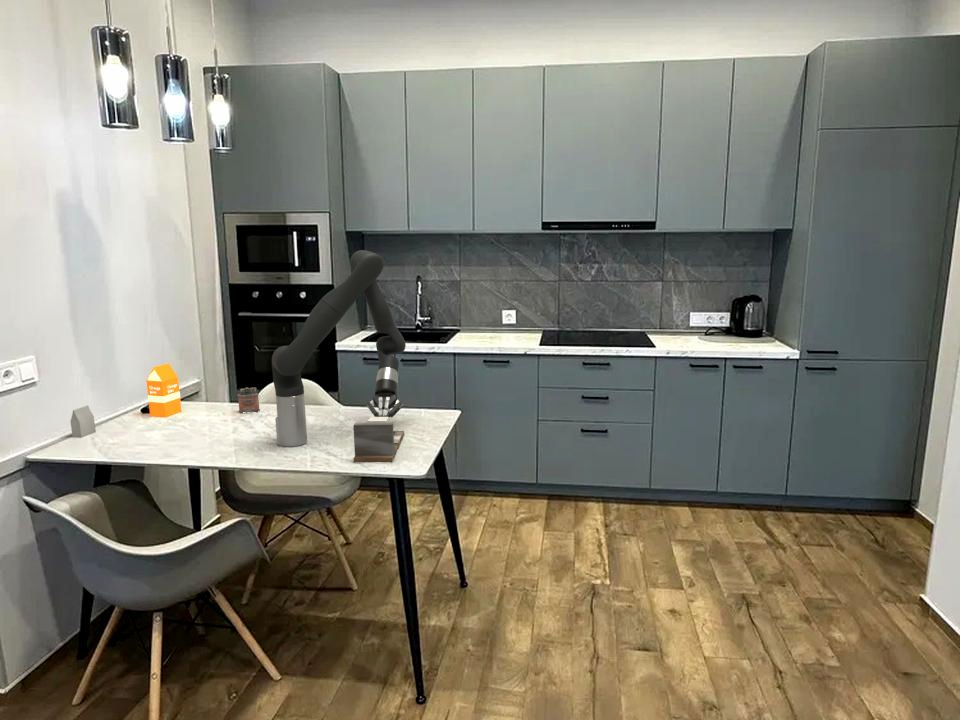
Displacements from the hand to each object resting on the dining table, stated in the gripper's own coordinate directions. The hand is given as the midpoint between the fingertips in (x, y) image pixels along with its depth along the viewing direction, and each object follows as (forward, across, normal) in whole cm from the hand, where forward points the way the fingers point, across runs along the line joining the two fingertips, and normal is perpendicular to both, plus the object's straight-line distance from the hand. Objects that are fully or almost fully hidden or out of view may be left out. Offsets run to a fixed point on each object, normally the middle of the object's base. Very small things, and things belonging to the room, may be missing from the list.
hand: (382, 427), depth 220 cm
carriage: (+8, +2, -2) cm, 9 cm away
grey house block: (-4, -111, +13) cm, 112 cm away
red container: (-25, -61, +34) cm, 74 cm away
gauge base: (+7, 0, +1) cm, 7 cm away
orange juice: (-24, -94, +32) cm, 102 cm away
